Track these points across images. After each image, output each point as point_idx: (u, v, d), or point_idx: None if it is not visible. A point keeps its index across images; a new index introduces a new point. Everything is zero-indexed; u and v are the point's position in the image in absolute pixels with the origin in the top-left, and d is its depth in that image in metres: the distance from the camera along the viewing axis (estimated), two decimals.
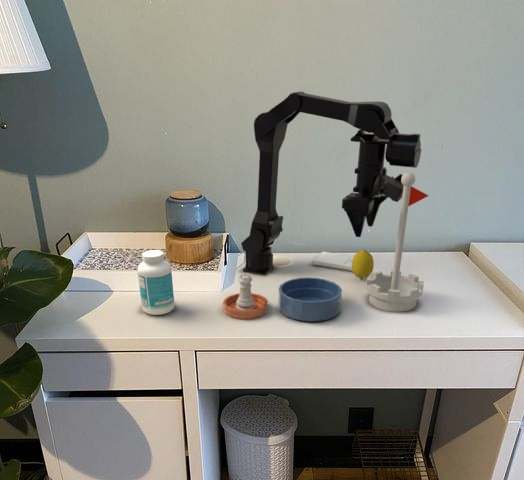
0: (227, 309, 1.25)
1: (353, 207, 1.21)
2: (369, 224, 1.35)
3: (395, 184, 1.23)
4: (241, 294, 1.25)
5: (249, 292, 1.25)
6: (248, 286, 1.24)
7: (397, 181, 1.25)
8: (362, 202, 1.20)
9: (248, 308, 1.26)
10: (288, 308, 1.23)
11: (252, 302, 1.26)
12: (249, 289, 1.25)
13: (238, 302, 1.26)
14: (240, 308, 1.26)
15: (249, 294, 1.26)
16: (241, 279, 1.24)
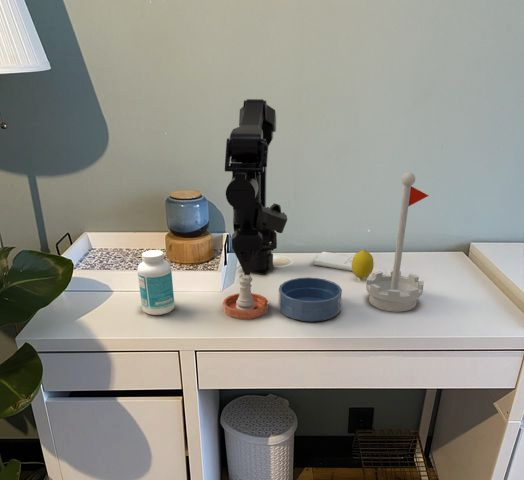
0: (227, 309, 1.25)
1: (246, 246, 1.11)
2: None
3: (277, 215, 1.17)
4: (241, 294, 1.25)
5: (249, 292, 1.25)
6: (248, 286, 1.24)
7: (275, 211, 1.19)
8: (255, 240, 1.11)
9: (248, 308, 1.26)
10: (288, 308, 1.23)
11: (252, 302, 1.26)
12: (249, 289, 1.25)
13: (238, 302, 1.26)
14: (240, 308, 1.26)
15: (249, 294, 1.26)
16: (241, 279, 1.24)
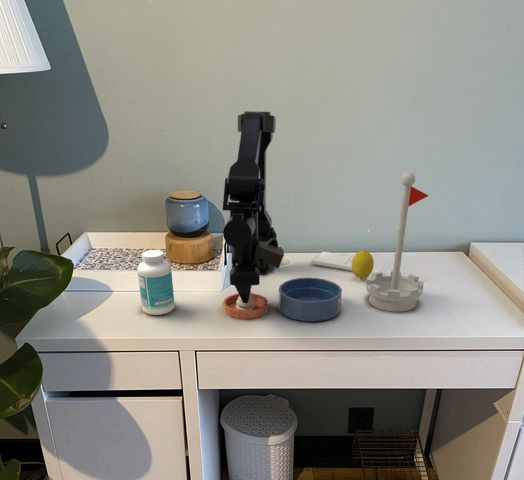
0: (227, 309, 1.25)
1: (243, 282, 1.15)
2: None
3: (274, 251, 1.20)
4: None
5: None
6: None
7: (272, 246, 1.23)
8: (252, 276, 1.14)
9: (248, 308, 1.26)
10: (288, 308, 1.23)
11: (252, 302, 1.26)
12: None
13: (238, 302, 1.26)
14: (240, 308, 1.26)
15: None
16: None
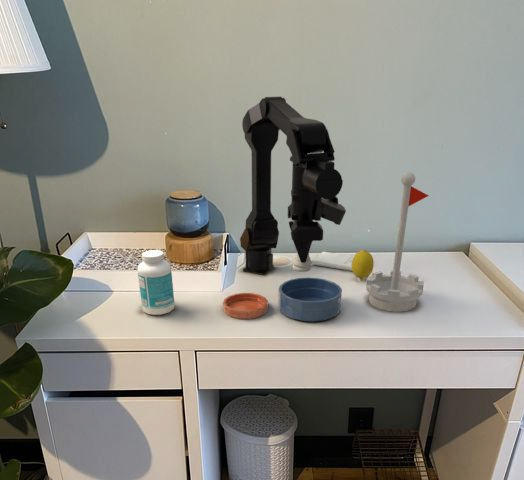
0: (227, 309, 1.25)
1: (306, 238, 1.11)
2: None
3: (336, 207, 1.16)
4: None
5: None
6: None
7: (332, 202, 1.18)
8: (316, 231, 1.10)
9: (306, 268, 1.22)
10: (288, 308, 1.23)
11: (310, 262, 1.22)
12: None
13: (295, 262, 1.22)
14: (297, 268, 1.22)
15: None
16: None
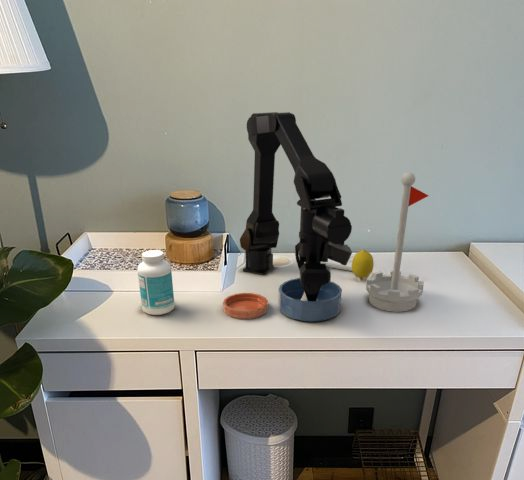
0: (227, 309, 1.25)
1: (314, 280, 1.15)
2: None
3: (342, 248, 1.20)
4: None
5: None
6: None
7: (339, 243, 1.23)
8: (324, 274, 1.15)
9: None
10: (288, 308, 1.23)
11: None
12: None
13: None
14: None
15: None
16: None
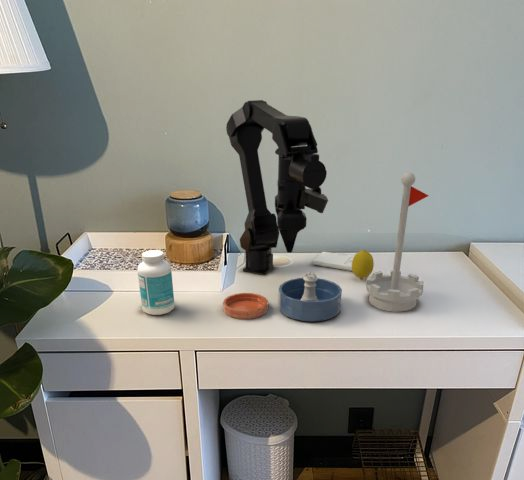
0: (227, 309, 1.25)
1: (291, 225, 1.20)
2: None
3: (319, 196, 1.25)
4: (306, 293, 1.26)
5: (314, 291, 1.26)
6: (313, 285, 1.25)
7: (316, 192, 1.27)
8: (300, 219, 1.19)
9: None
10: (288, 308, 1.23)
11: None
12: (314, 288, 1.26)
13: None
14: None
15: (314, 293, 1.26)
16: (307, 278, 1.24)
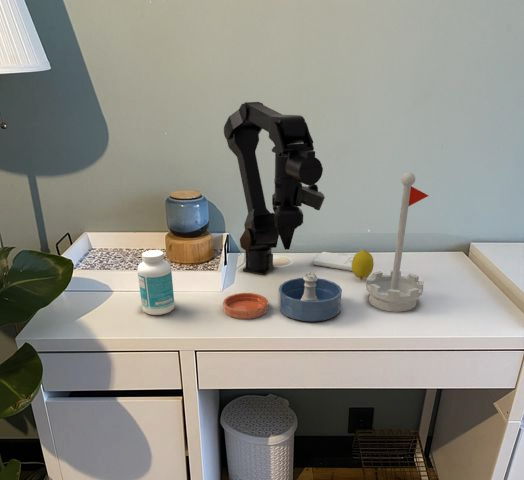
0: (227, 309, 1.25)
1: (288, 221, 1.21)
2: None
3: (315, 193, 1.26)
4: (306, 293, 1.26)
5: (314, 291, 1.26)
6: (313, 285, 1.25)
7: (312, 190, 1.28)
8: (297, 215, 1.20)
9: None
10: (288, 308, 1.23)
11: None
12: (314, 288, 1.26)
13: None
14: None
15: (314, 293, 1.26)
16: (307, 278, 1.24)
